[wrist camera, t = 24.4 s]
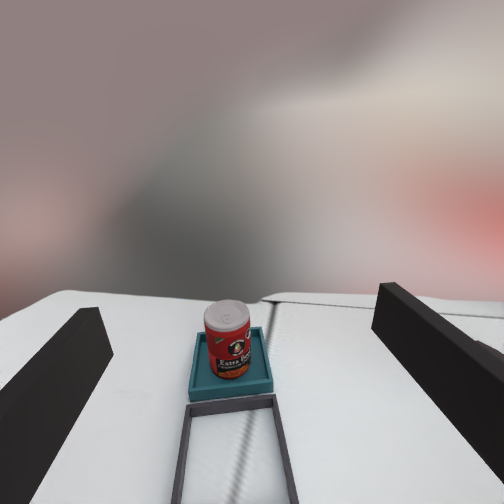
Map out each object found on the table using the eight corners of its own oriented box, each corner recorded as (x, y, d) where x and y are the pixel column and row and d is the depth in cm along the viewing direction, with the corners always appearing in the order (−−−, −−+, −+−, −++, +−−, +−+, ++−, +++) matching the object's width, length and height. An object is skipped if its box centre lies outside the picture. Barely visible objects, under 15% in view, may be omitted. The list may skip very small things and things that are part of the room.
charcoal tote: (275, 402, 36) (275, 393, 36) (301, 526, 24) (301, 517, 23) (188, 413, 35) (186, 404, 34) (168, 549, 23) (165, 539, 22)
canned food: (218, 388, 38) (211, 334, 34) (204, 354, 45) (197, 306, 41) (259, 370, 42) (258, 318, 37) (241, 341, 48) (238, 294, 44)
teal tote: (261, 335, 50) (261, 326, 49) (273, 392, 38) (273, 381, 37) (198, 341, 49) (197, 332, 48) (189, 402, 37) (187, 391, 36)
